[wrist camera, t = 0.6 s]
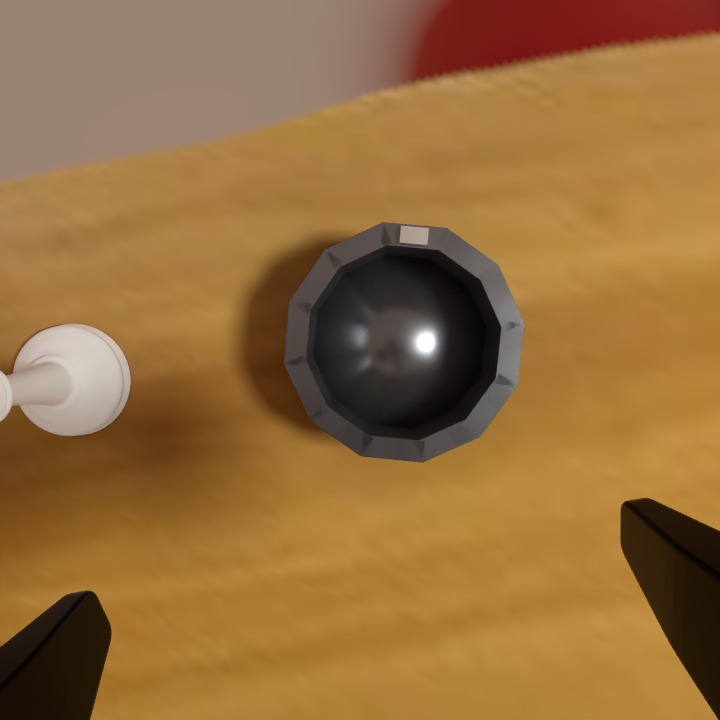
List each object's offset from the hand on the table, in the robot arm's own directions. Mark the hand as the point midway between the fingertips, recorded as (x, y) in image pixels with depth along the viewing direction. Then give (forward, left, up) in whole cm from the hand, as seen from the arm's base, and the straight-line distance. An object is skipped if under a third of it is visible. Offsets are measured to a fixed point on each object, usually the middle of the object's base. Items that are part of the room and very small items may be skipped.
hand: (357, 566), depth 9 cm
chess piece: (+1, +13, -14) cm, 19 cm away
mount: (+4, -1, -14) cm, 14 cm away
